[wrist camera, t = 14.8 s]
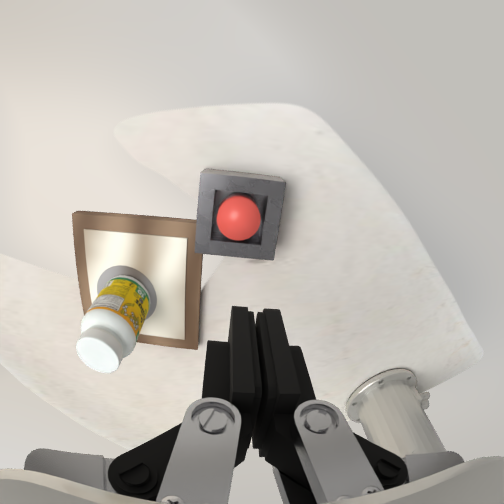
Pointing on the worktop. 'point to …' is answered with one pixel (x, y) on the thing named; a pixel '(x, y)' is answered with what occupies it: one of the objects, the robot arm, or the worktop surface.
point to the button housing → (268, 202)
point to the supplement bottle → (113, 323)
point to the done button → (238, 216)
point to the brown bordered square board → (144, 269)
